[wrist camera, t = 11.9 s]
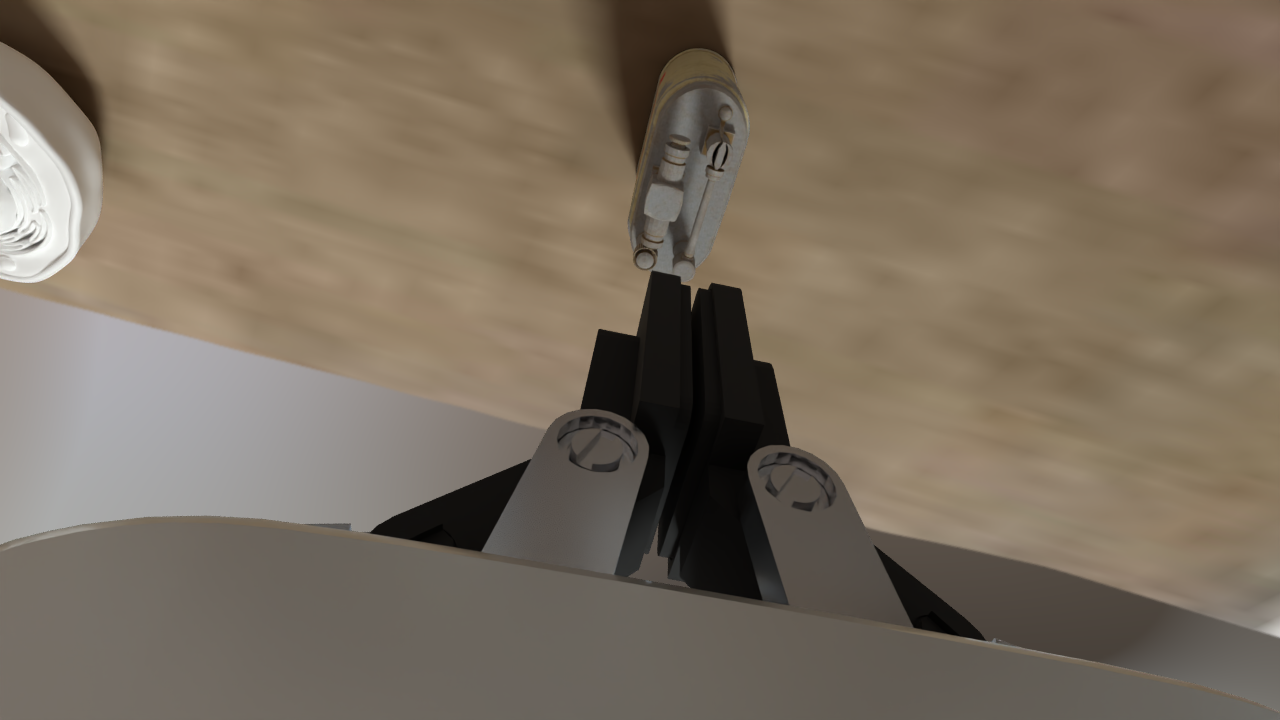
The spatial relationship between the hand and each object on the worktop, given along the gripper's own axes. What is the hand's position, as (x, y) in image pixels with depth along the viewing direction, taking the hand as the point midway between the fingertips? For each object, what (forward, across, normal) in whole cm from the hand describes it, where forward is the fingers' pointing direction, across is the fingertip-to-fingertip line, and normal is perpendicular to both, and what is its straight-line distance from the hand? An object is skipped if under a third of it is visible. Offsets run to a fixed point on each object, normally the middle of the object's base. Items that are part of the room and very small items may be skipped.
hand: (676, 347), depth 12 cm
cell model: (+19, +30, +6) cm, 36 cm away
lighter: (+19, 0, 0) cm, 19 cm away
